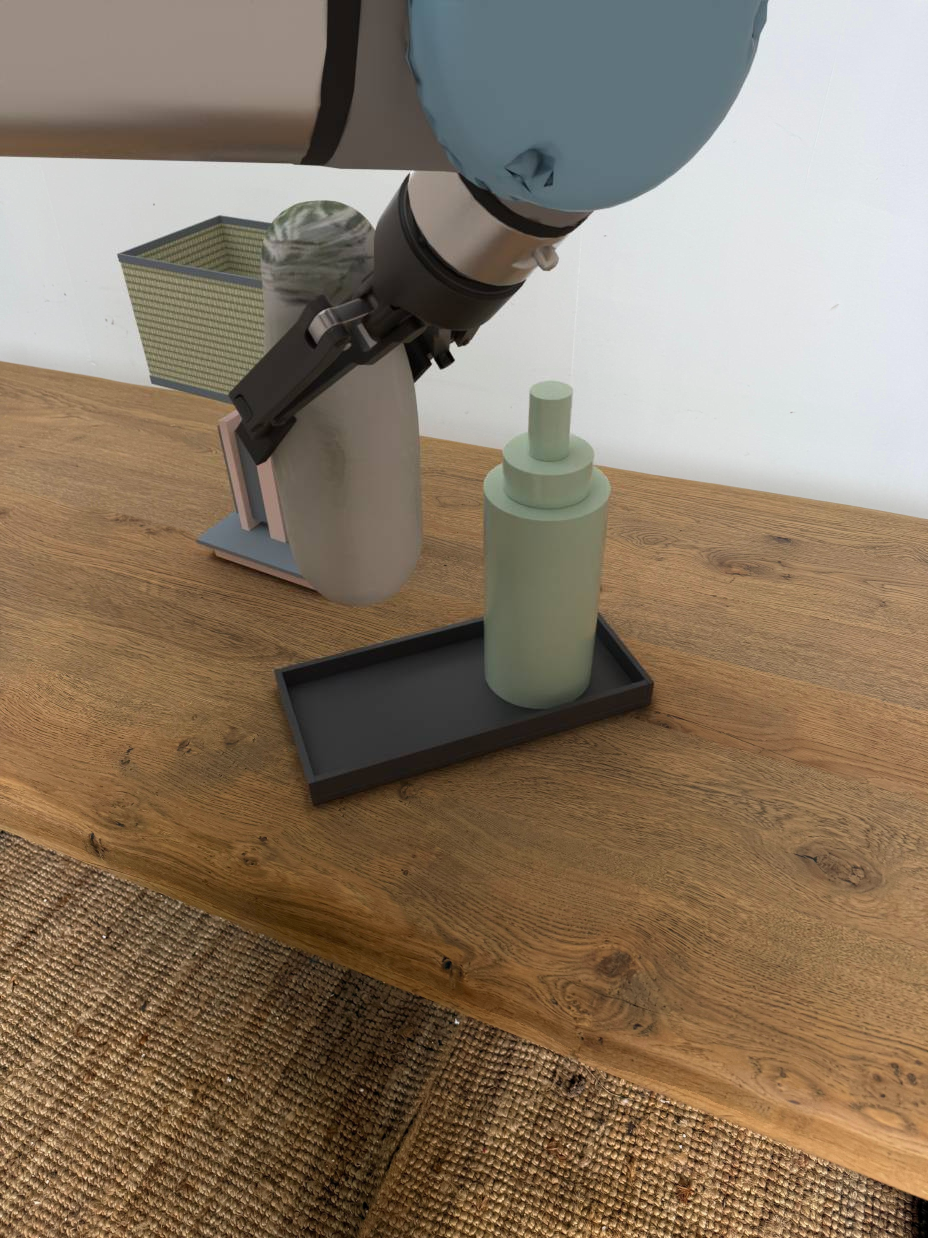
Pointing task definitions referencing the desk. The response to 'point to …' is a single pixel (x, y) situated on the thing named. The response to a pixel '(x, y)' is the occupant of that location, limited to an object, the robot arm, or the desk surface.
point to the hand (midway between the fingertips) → (318, 417)
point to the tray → (429, 706)
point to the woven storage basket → (214, 362)
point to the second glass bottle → (543, 557)
